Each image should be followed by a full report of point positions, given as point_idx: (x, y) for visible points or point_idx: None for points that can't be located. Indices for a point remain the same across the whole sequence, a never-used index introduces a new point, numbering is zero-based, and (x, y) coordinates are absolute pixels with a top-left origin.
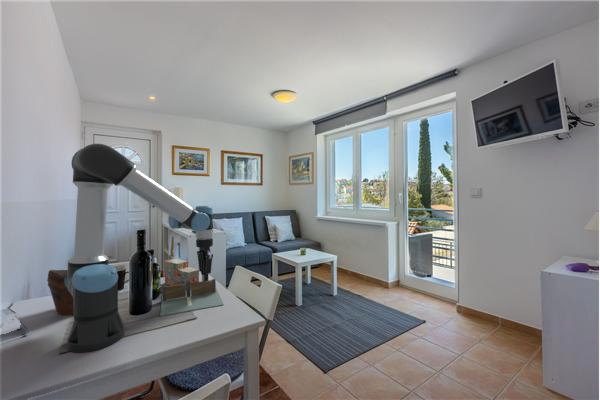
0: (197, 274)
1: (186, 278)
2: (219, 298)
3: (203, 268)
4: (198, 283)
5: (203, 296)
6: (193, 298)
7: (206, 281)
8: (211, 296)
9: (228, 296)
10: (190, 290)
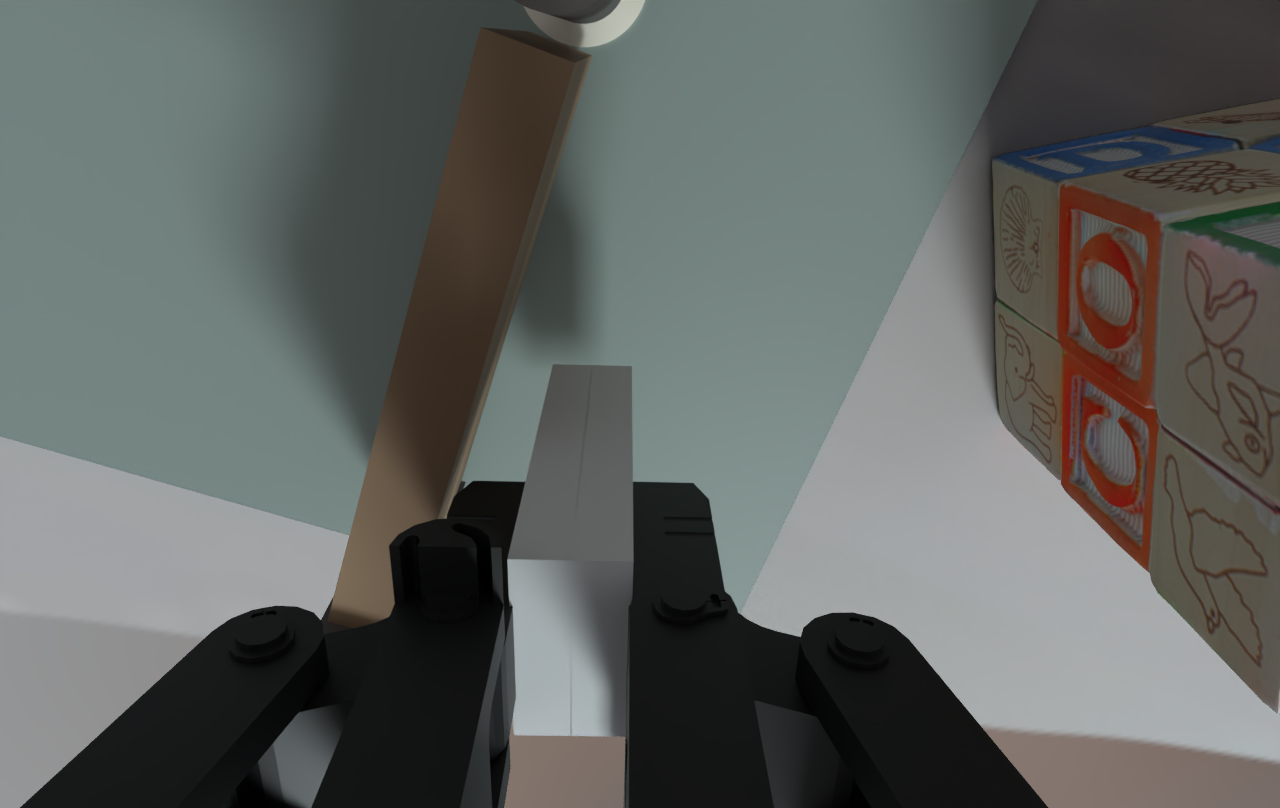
0: (1177, 564)
1: (1267, 196)
2: (35, 422)
3: (417, 774)
4: (427, 259)
5: (344, 240)
6: (365, 9)
7: (380, 489)
8: (241, 361)
9: (110, 587)
10: (938, 190)
